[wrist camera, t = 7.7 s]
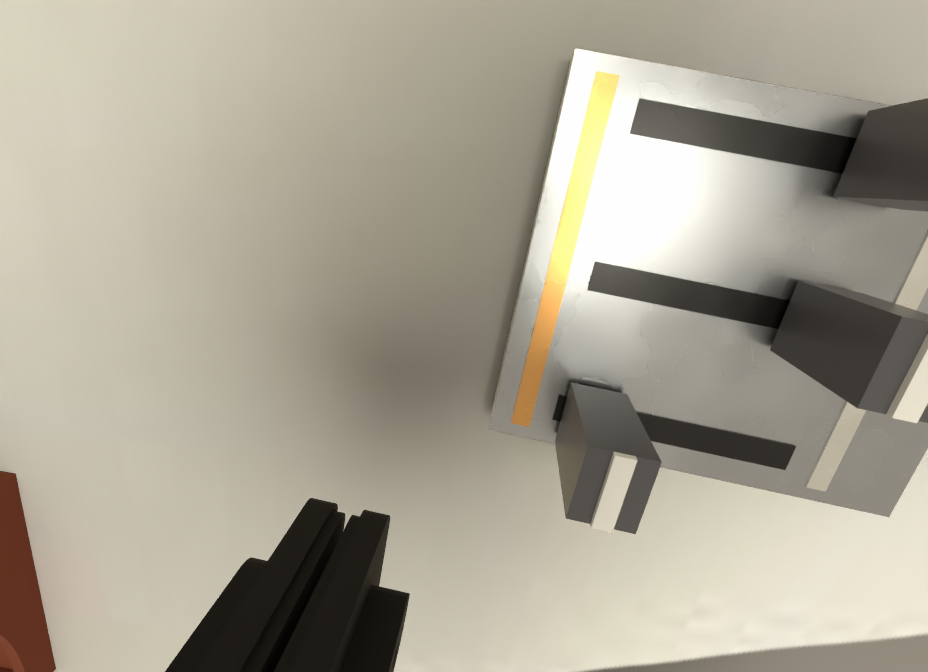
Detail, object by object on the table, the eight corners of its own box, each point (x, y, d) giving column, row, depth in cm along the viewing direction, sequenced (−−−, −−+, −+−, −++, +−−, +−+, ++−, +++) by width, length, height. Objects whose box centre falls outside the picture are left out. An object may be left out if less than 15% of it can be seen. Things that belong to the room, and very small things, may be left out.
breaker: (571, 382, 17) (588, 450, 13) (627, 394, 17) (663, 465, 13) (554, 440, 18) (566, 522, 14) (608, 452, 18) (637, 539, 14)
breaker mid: (798, 280, 15) (909, 318, 11) (862, 293, 15) (999, 337, 11) (770, 350, 16) (862, 412, 12) (830, 362, 16) (946, 429, 12)
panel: (570, 61, 16) (575, 47, 14) (1041, 147, 15) (1101, 142, 14) (491, 410, 20) (488, 430, 18) (859, 490, 19) (890, 518, 18)
